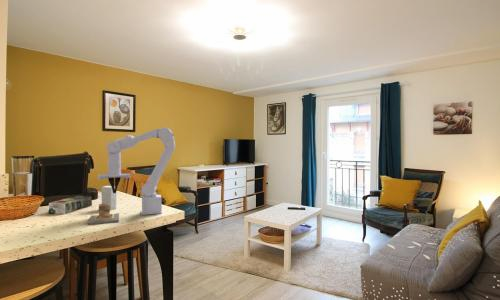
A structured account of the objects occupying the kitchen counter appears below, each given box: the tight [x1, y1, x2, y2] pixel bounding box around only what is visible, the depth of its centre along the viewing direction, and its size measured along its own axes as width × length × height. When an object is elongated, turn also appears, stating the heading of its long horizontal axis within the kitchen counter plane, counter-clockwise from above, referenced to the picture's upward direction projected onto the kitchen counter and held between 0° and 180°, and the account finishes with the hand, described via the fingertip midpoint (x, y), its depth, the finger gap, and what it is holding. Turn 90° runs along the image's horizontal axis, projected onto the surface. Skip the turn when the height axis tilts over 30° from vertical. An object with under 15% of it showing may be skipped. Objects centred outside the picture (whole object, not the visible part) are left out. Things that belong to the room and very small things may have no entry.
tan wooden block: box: [98, 203, 111, 219], centre depth 130 cm, size 4×4×6 cm
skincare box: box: [101, 185, 117, 211], centre depth 150 cm, size 6×4×12 cm
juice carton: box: [47, 194, 93, 215], centre depth 148 cm, size 20×10×6 cm, turn 171°
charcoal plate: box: [87, 212, 120, 226], centre depth 130 cm, size 12×12×2 cm
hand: (114, 192), depth 141 cm, fingers closed
